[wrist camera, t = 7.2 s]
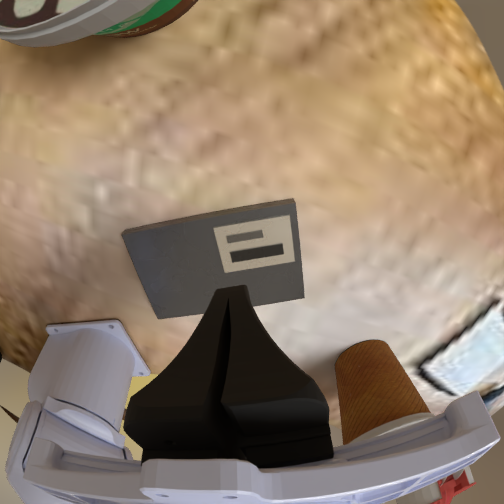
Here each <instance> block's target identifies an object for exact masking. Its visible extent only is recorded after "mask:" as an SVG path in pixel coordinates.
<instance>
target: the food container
mask: <svg viewBox="0 0 504 504" xmlns="http://www.w3.org/2000/svg"><path fill="white" fill-rule="evenodd" d="M197 1H198V0H0V39H3V40H6V41H8V42H11V43H14V44H17V45H19V46H28V47H47V46H55V45H60V44H64V43H69V42H73V41H76V40H79V39H81V38H84V37H87V36H90V35H101V36H112V37H123V38H125V37H136V36H140V35H145V34H148V33H151V32H154V31H156V30H159V29H161V28H163V27H165V26H167V25H169V24H170V23H172V22H174V21H175V20H177V19H178V18H180V17H181V16H182V15H183V14H185V13H186V12H187V11H188V10H189V9H190V8H191V7H192V6H193V5H194V4H195V3H196V2H197Z"/></svg>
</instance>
